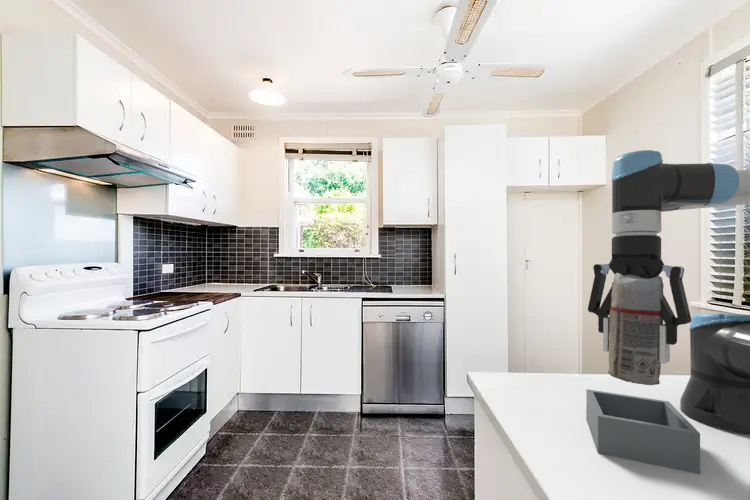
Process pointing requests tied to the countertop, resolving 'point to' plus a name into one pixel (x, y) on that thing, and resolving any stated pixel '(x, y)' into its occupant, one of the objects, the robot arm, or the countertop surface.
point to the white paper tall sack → (635, 329)
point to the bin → (642, 430)
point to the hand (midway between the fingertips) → (634, 355)
